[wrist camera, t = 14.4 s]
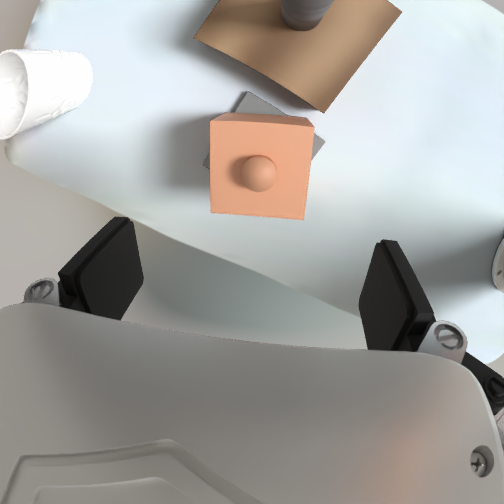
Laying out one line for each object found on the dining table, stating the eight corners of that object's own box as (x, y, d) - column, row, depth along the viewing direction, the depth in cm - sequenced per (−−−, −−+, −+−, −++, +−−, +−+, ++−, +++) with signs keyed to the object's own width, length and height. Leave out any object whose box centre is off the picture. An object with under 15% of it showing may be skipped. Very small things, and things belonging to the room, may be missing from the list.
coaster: (324, 140, 25) (325, 141, 24) (275, 206, 29) (274, 208, 28) (248, 91, 23) (248, 91, 22) (203, 163, 27) (202, 164, 26)
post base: (390, 18, 17) (449, -9, 8) (319, 110, 23) (344, 128, 14) (275, -51, 15) (270, -113, 5) (202, 42, 21) (153, 20, 11)
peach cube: (299, 191, 27) (304, 226, 21) (224, 186, 27) (207, 218, 21) (306, 117, 23) (316, 129, 17) (225, 112, 24) (206, 122, 18)
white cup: (92, 35, 20) (24, 32, 11) (104, 102, 24) (37, 120, 15) (40, 65, 21) (-25, 76, 13) (52, 125, 25) (-12, 151, 17)
